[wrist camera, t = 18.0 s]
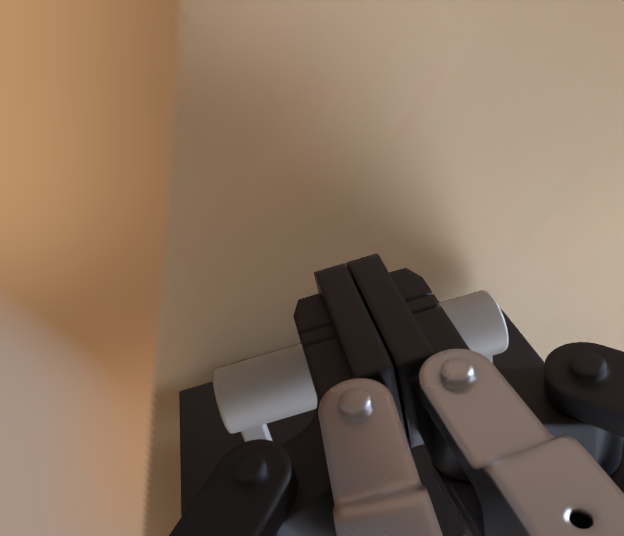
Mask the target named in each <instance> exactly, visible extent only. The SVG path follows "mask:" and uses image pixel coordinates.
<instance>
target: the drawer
mask: <svg viewBox="0 0 624 536" xmlns="http://www.w3.org/2000/svg"><path fill="white" fill-rule="evenodd" d="M439 304H440V306H442V308H443V309H444V311H445V312H446V314H447V315H448V317H449V318H450V320H451V321H452V323H453V325H454V326H455V328H456V329H457V331H458V332H459V334H460V335H461V337H462V338H463V340H464V341H465V343H466V344H467V346H468V347H469V349H470V350H472V351H475V352H478V353H480V354H482V355H484V356H485V357H486V358H488V359H489V360H490V361H491V362H492V363H493V364H494V365H498V366H503V367H537V366H544V365H545V363H544V361H543V360H542V359H541V358H540V356H539V355H538V354H537V353H536V351H535V350H534V349H533V348H532V347H531V345H530V344H529V343H528V342H527V340H526V339H525V338H524V337H523V335H522V334H521V333H520V332H519V330H518V329H517V328H516V327H515V325H514V324H513V323H512V322H511V320H510V319H509V318H508V317H507V315H506V314H505V313H504V312H503V310H502V309H501V308H500V307H499V305H498V303H497V302H496V300H495V299H494V297H493V296H492V295H491V294H490V293H489V292H488V291H483V290H481V291H478V292H474V293H471V294H468V295H464V296H461V297H457V298H454V299H451V300H447V301H444V302H440V303H439ZM179 400H180V457H181V514H182V516H183V514H184V513H185V511H186V510H187V508H188V507H189V505H190V504H191V502H192V501H193V499H194V498H195V497H196V495H197V494H198V492H199V491H200V489H201V488H202V486H203V485H204V483H205V482H206V480H207V479H208V477H209V476H210V474H211V473H212V471H213V470H214V468H215V467H216V465H217V464H218V462H219V461H220V460H221V458H222V457H223V456H224V455H225V454H226V453H227V452H228V451H230V450H231V449H232V448H234V447H235V446H237V445H239V444H241V443H244V442H246V441H250V440H256V439H266V440H271V441H274V442H276V443H278V444H280V445H282V444H284V443H285V442H287V441H288V440H290V439H292V438H293V437H295V436H296V435H298V434H299V433H300V432H301V431H303V430H304V429H305V428H306V427H307V425H308V424H309V423H310V422H311V420H312V418H313V417H314V414H315V412H316V408H317V396H316V392H315V388H314V385H313V382H312V378H311V375H310V371H309V368H308V364H307V361H306V358H305V354H304V351H303V347H302V344H298V345H294V346H291V347H287V348H284V349H281V350H277V351H274V352H270V353H267V354H264V355H260V356H257V357H253V358H250V359H247V360H243V361H240V362H237V363H233V364H230V365H226V366H223V367H220V368H216V369H215V370H214V371H213V382H210V383H206V384H203V385H200V386H196V387H193V388H189V389H186V390H183V391H180V392H179ZM406 437H407V436H406ZM407 442H408V445H409V448H410V451H411V454H412V457H413V460H414V463H415V466H416V469H417V472H418V475H419V478H420V481H421V483H422V486H425V487H426V489H427V491H428V494H429V497H430V499H431V502H432V505H433V508H434V511H435V514H436V517H437V520H438V523H439V526H440V529H441V532H442V535H443V536H467V535H466V534H465V532H464V530H463V528H462V526H461V525H460V523H459V521H458V519H457V517H456V516H455V514H454V512H453V510H452V508H451V507H450V505H449V503H448V501H447V499H446V498H445V496H444V494H443V492H442V490H441V489H440V487H439V485H438V483H437V481H436V479H435V477H434V474H433V469H432V462H431V457H430V455H429V453H428V451H427V448H426V446H425V444H422V445H419V446H416V447H413V448H412V447H411V445H410V443H409V440H408V438H407Z"/></svg>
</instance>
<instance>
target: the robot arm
mask: <svg viewBox="0 0 624 536" xmlns="http://www.w3.org/2000/svg"><path fill="white" fill-rule="evenodd" d="M346 266H347V267H346ZM314 276H315V280H316V284H317V288H318V292H319V294H316V295H313V296H309V297H306V298H303V299H299V300H298V303H297V306H296V309H295V313H294V320H295V323H296V327H297V330H298V334H299V337H300V340H301V344H302V347H303V351H304V354H305V358H306V361H307V364H308V368H309V371H310V375H311V378H312V382H313V385H314V388H315V392H316V396H317V408H316V412H315V414H314V417H313V418H312V420H311V422H310V423H309V424H308V425H307V427H306V428H305V429H304V430H303V431H301V432H300V433H299V434H298V435H296V436H295V437H293V438H292V439H290V440H288V441H287V442H285V443H284V444H282V445H280V444H278V443H276V442H274V441H271V440H266V439H256V440H250V441H246V442H244V443H241V444H239V445H237V446H235V447H234V448H232V449H231V450H230V451H228V452H227V453H226V454H225V455H224V456H223V457H222V458H221V460H220V461H219V462H218V464H217V465H216V467H215V468H214V470H213V471H212V473H211V474H210V476H209V477H208V479H207V480H206V482H205V483H204V485H203V486H202V488H201V489H200V491H199V492H198V494H197V495H196V497H195V498H194V499H193V501H192V502H191V504H190V505H189V507H188V508H187V510H186V511H185V513H184V514H183V516H182V517H181V519H180V520H179V522H178V523H177V525H176V526H175V528H174V529H173V531H172V532H171V534H170V535H169V536H443V535H442V532H441V529H440V526H439V523H438V520H437V517H436V514H435V511H434V508H433V505H432V502H431V499H430V497H429V494H428V491H427V489H426V487H425V486H422V483H421V481H420V478H419V475H418V472H417V469H416V466H415V463H414V460H413V457H412V454H411V451H410V448H409V445H408V442H407V438H408V440H409V443H410V445H411V447H412V448H413V447H416V446H419V445H422V444H425V446H426V448H427V451H428V453H429V455H430V457H431V462H432V469H433V474H434V477H435V479H436V481H437V483H438V485H439V487H440V489H441V490H442V492H443V494H444V496H445V498H446V499H447V501H448V503H449V505H450V507H451V508H452V510H453V512H454V514H455V516H456V517H457V519H458V521H459V523H460V525H461V526H462V528H463V530H464V532H465V534H466V535H467V536H624V352H622V351H619V350H616V349H612V348H609V347H606V346H603V345H599V344H595V343H588V342H577V343H570V344H565V345H563V346H560V347H558V348H556V349H555V350H553V351H552V352H551V353H550V354H549V355H548V356H547V358H546V360H545V365H544V366H537V367H503V366H498V365H494V364H493V363H492V362H491V361H490V360H489V359H488V358H486V357H485V356H484V355H482V354H480V353H478V352H475V351H472V350H470V349H469V347H468V346H467V344H466V343H465V341H464V340H463V338H462V337H461V335H460V334H459V332H458V331H457V329H456V328H455V326H454V325H453V323H452V321H451V320H450V318H449V317H448V315H447V314H446V312H445V311H444V309H443V308H442V306H440V304H439V302H438V300H437V299H436V297H435V296H434V295H433V294H432V291H431V290H430V288H429V287H428V285H427V284H426V282H425V281H424V279H423V278H422V277H421V276H419V275H417V274H415V273H414V272H412V271H410V270H409V269H407V268H403V269H400V270H397V271H393V272H390V273H389V272H388V270H387V269H386V267H385V265H384V264H383V262H382V260H381V258H380V257H379V255H378V254H374V255H370V256H367V257H363V258H360V259H357V260H353V261H350V262H347V263H346V265H345V264H340V265H337V266H333V267H330V268H327V269H323V270H320V271H316V272H314ZM406 436H407V437H406Z"/></svg>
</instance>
